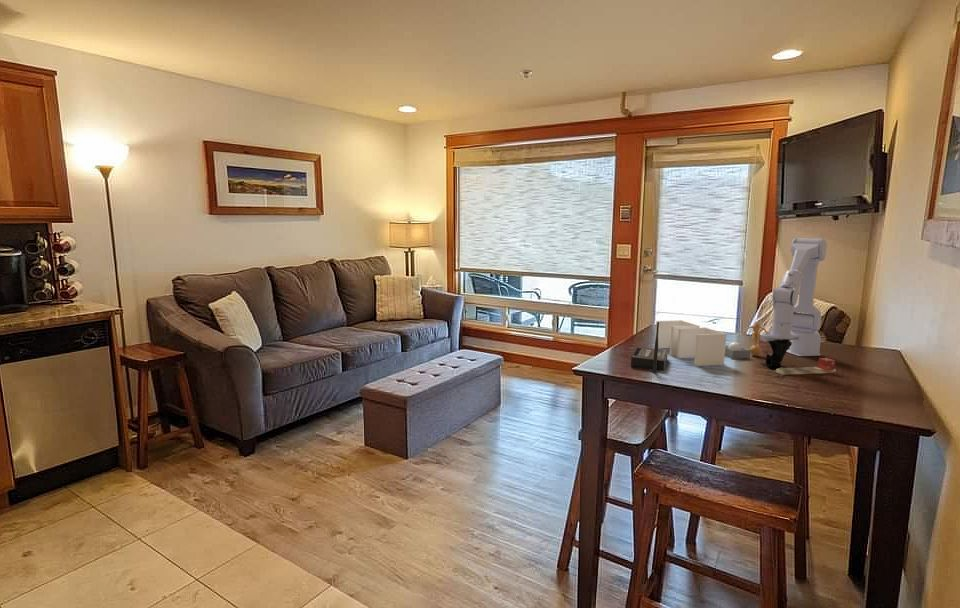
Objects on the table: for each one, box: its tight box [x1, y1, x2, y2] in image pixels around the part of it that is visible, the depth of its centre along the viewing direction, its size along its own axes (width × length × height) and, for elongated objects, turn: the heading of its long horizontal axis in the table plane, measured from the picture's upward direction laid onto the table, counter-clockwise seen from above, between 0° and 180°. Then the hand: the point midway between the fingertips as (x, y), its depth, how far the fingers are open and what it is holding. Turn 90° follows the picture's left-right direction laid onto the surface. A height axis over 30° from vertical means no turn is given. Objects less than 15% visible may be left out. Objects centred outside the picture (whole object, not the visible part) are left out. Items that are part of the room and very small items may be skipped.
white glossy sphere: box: [727, 341, 743, 350], centre depth 186 cm, size 5×5×5 cm
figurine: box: [743, 323, 769, 357], centre depth 187 cm, size 8×6×12 cm
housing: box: [724, 345, 751, 360], centre depth 186 cm, size 7×7×3 cm
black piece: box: [759, 353, 783, 371], centre depth 173 cm, size 12×7×5 cm, turn 176°
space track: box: [775, 357, 837, 376], centre depth 166 cm, size 20×4×4 cm, turn 100°
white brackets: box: [653, 319, 727, 367], centre depth 184 cm, size 25×11×11 cm, turn 14°
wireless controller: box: [630, 322, 669, 374], centre depth 171 cm, size 20×14×17 cm
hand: (777, 360), depth 175 cm, fingers closed
